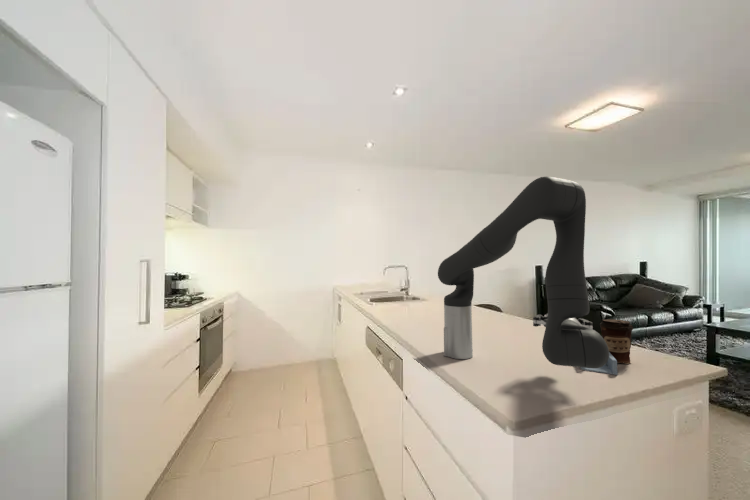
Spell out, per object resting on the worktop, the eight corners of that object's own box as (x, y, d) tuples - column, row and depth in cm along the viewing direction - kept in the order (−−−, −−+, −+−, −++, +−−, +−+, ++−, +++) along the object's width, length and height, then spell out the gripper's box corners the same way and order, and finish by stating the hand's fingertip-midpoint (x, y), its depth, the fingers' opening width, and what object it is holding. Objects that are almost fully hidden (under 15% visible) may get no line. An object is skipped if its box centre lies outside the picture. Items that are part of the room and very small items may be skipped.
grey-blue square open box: (581, 369, 84) (580, 356, 84) (576, 361, 91) (576, 348, 91) (617, 375, 80) (616, 360, 80) (610, 365, 87) (609, 352, 87)
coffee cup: (638, 367, 85) (636, 324, 86) (603, 362, 89) (601, 321, 90) (631, 359, 92) (629, 319, 93) (599, 355, 97) (597, 317, 97)
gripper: (600, 317, 66) (587, 307, 81) (531, 311, 73) (531, 303, 88) (601, 349, 66) (588, 333, 81) (531, 341, 73) (531, 327, 88)
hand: (558, 317), depth 85 cm, fingers closed on supplement bottle, 4 cm apart
